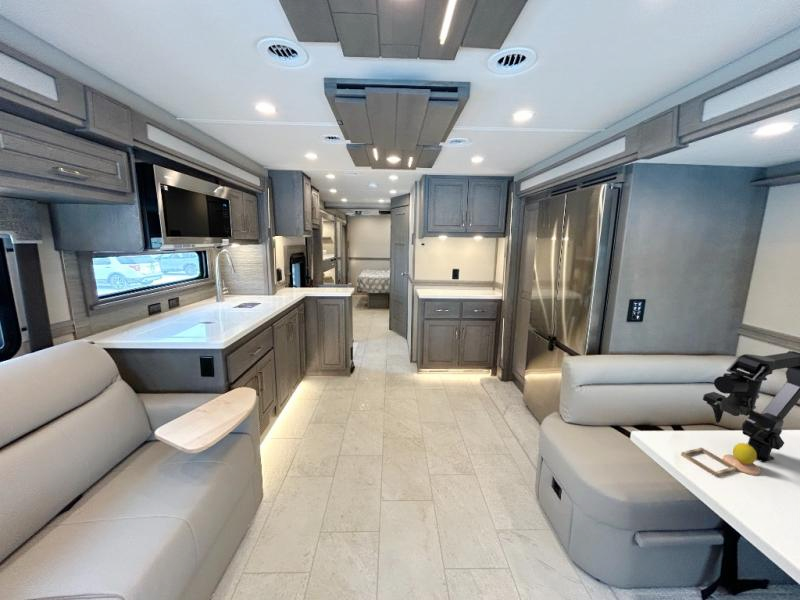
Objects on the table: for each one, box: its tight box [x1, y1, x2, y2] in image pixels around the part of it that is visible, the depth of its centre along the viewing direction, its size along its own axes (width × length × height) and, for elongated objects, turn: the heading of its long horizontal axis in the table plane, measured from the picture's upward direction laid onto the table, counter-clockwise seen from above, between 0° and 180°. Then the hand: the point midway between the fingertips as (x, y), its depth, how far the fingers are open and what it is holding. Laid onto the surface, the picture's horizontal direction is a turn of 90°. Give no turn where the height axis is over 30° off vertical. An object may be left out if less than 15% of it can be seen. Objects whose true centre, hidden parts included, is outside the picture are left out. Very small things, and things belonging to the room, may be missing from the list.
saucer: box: [722, 454, 761, 476], centre depth 109 cm, size 9×9×1 cm
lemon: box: [732, 442, 757, 464], centre depth 108 cm, size 6×6×8 cm
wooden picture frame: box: [680, 447, 738, 478], centre depth 110 cm, size 11×11×1 cm
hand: (734, 429), depth 110 cm, fingers open, 9 cm apart
